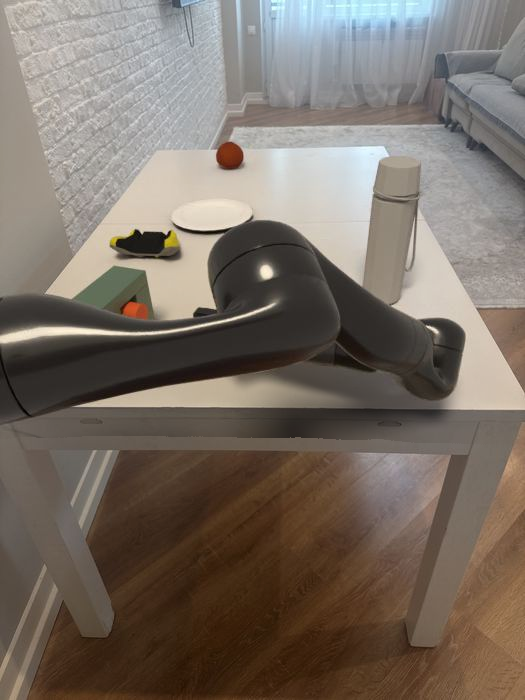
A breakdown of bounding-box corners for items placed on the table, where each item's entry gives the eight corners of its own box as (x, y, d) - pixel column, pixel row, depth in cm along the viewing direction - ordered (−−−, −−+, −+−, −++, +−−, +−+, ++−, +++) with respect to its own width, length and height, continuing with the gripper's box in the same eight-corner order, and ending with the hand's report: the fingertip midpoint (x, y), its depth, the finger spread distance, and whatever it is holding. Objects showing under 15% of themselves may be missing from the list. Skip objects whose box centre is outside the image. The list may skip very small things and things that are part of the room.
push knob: (149, 318, 79) (146, 299, 77) (138, 331, 76) (133, 311, 74) (133, 315, 80) (129, 296, 78) (121, 327, 77) (116, 308, 75)
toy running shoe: (177, 266, 106) (188, 245, 113) (173, 242, 102) (185, 223, 110) (110, 263, 107) (126, 244, 115) (105, 240, 104) (121, 221, 112)
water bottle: (370, 310, 89) (387, 171, 74) (354, 289, 95) (368, 156, 80) (417, 303, 91) (443, 165, 76) (399, 283, 97) (420, 151, 82)
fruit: (212, 166, 161) (210, 140, 156) (238, 162, 164) (236, 136, 159) (222, 173, 155) (220, 147, 150) (248, 169, 157) (246, 143, 153)
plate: (215, 243, 114) (215, 236, 113) (154, 223, 124) (153, 217, 123) (269, 214, 127) (269, 208, 126) (209, 198, 137) (209, 192, 136)
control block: (157, 331, 86) (145, 270, 79) (119, 373, 77) (101, 308, 70) (128, 325, 88) (113, 265, 81) (87, 365, 79) (67, 302, 72)
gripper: (321, 289, 70) (211, 272, 75) (294, 341, 60) (170, 318, 65) (319, 331, 75) (216, 313, 80) (293, 386, 65) (177, 361, 70)
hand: (195, 315), depth 73 cm, fingers closed
